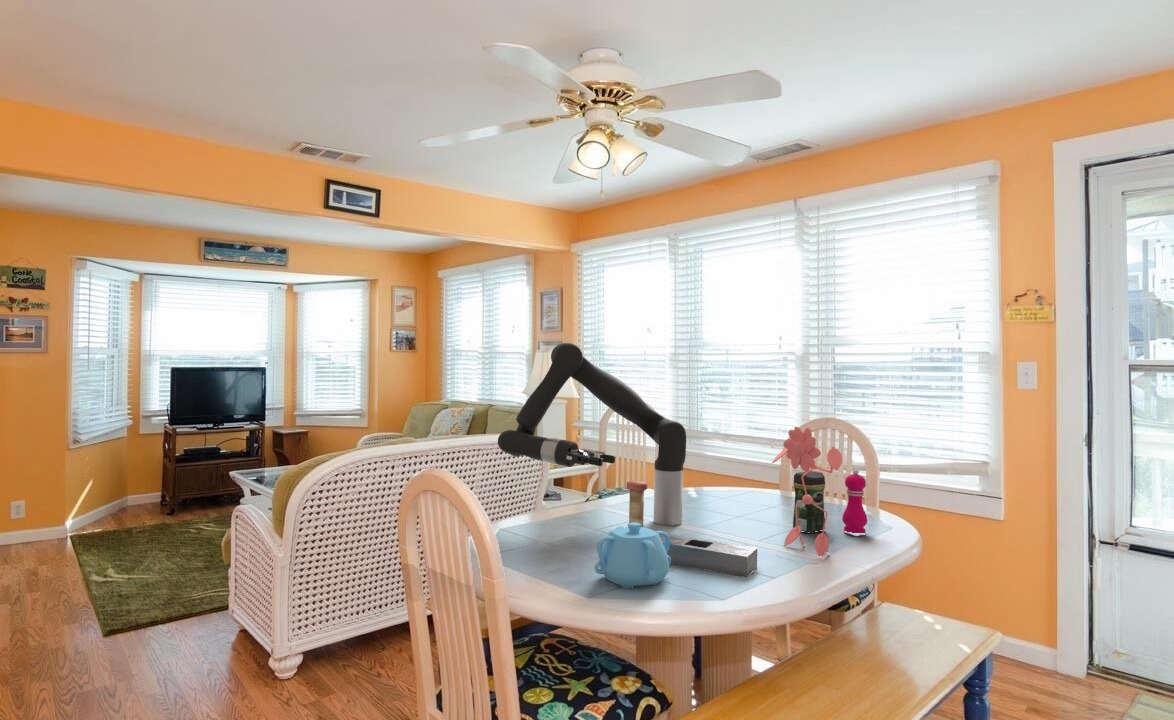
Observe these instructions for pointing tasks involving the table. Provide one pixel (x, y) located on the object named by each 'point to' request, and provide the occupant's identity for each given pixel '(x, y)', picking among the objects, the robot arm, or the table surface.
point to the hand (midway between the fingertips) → (608, 461)
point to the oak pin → (636, 501)
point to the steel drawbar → (712, 555)
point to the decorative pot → (633, 556)
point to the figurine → (804, 454)
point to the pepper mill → (855, 504)
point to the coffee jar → (809, 514)
